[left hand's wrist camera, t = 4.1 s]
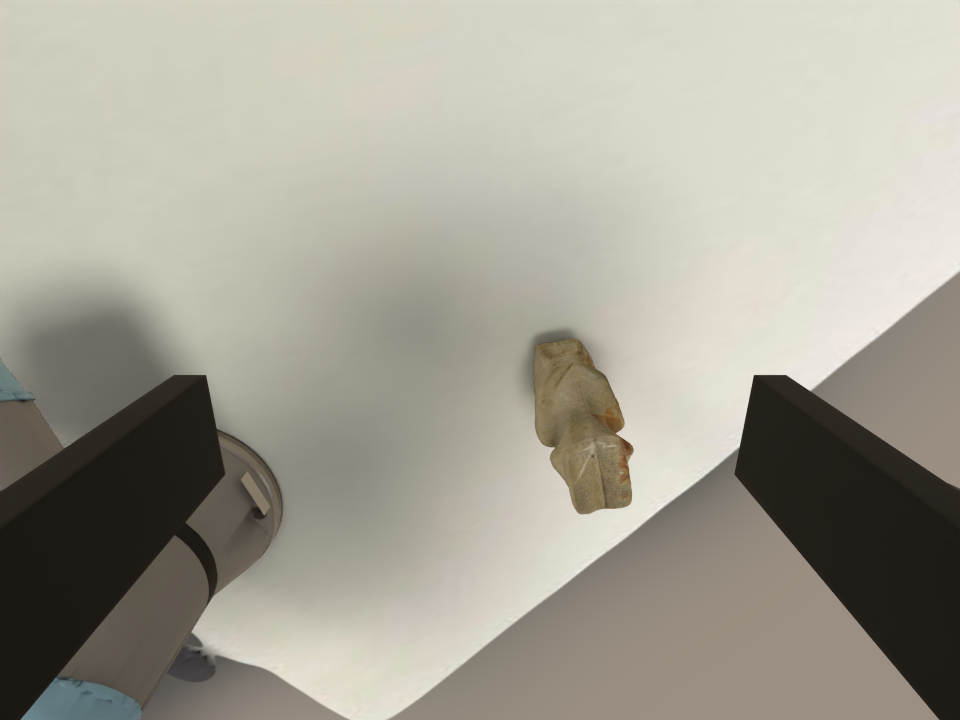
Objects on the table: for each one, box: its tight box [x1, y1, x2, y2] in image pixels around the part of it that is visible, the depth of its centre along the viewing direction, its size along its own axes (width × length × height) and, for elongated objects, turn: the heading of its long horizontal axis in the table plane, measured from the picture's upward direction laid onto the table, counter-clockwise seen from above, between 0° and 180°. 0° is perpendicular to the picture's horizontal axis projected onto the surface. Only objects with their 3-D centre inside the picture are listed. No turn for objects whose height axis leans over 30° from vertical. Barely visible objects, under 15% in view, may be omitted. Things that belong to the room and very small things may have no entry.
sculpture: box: [533, 339, 633, 514], centre depth 36 cm, size 6×7×15 cm
